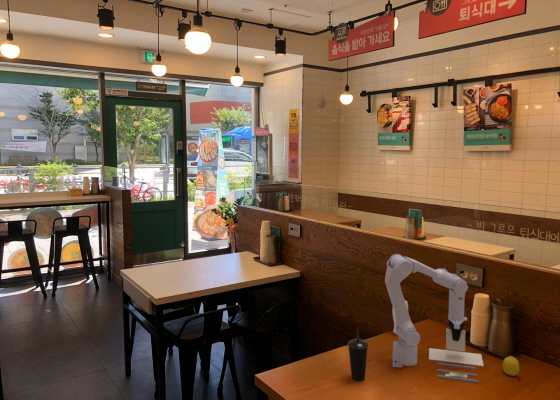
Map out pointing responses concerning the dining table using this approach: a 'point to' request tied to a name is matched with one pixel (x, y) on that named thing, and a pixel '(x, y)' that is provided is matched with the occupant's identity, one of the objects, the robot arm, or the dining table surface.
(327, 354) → the dining table surface
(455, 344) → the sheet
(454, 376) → the offcut top
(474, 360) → the board
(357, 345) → the drinking cup
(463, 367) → the rack
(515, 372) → the lemon
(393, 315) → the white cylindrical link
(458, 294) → the robot arm
